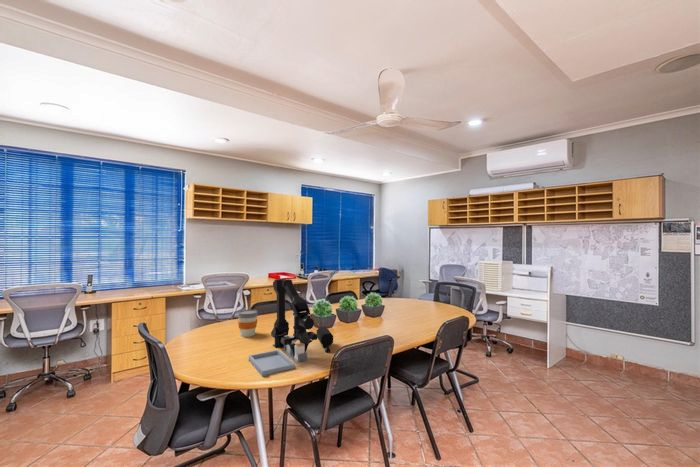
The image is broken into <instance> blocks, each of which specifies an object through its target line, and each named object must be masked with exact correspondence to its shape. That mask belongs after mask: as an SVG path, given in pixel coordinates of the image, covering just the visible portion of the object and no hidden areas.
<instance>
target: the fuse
mask: <svg viewBox="0 0 700 467" xmlns="http://www.w3.org/2000/svg"><path fill="white" fill-rule="evenodd" d="M288 336H289V337H290V338H292V337H294V336H293V335H288ZM294 342H297V341H294ZM286 351H287V352H288V353H290V346H289V345H286Z"/></svg>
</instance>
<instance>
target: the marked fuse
mask: <svg viewBox="0 0 700 467" xmlns="http://www.w3.org/2000/svg"><path fill="white" fill-rule="evenodd" d="M294 344H295V356H294V358H295V359H297V360H298V354H303V353H306V352H305V344H303V343H300V341H299V340H297V341H296V342H294Z"/></svg>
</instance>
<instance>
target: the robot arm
mask: <svg viewBox="0 0 700 467" xmlns="http://www.w3.org/2000/svg"><path fill="white" fill-rule="evenodd" d="M272 287H273V291H274V293H275V294H276V320H275V322H274V323H273V329H272V330H271V332H270V334H271V335H270V336H271V337H272V338H273V339H274V344H272V347H274V348H275V349H280V348H284V345H289V346H290V348H291V351H292V353H293V356H295V344H294V341H296V342H298V341H300V343H303V344H305V353H307V352H306V351H307V349H308V347H309V344H311V343H312V342H313V341H316V340H318V338H317V333H315V332H313V331H310V330H311V329H313V328H314V326H315V322H314V321H315V320H314V319H313V318H312V317H311V310H310V308H309V305H308V303H307V301H306V300H305V299H304V298H303V297H301V296H300V295H299V293H298V291H297V289H296V288H295V286H294V284H293V280H292V279H289V278H288V279H286V278H277V279H274V281H273V282H272ZM286 294H287V295H288V298H289V299H290V301H291V305H290V306H291V311H292V316H293V322H294V323H293V326H292V328H293V334H292V336H293V337H292V338H290V337H289V336H290V335H289V331H290V323H289V322H288V321H287V320H286ZM307 330H308V331H307Z"/></svg>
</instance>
